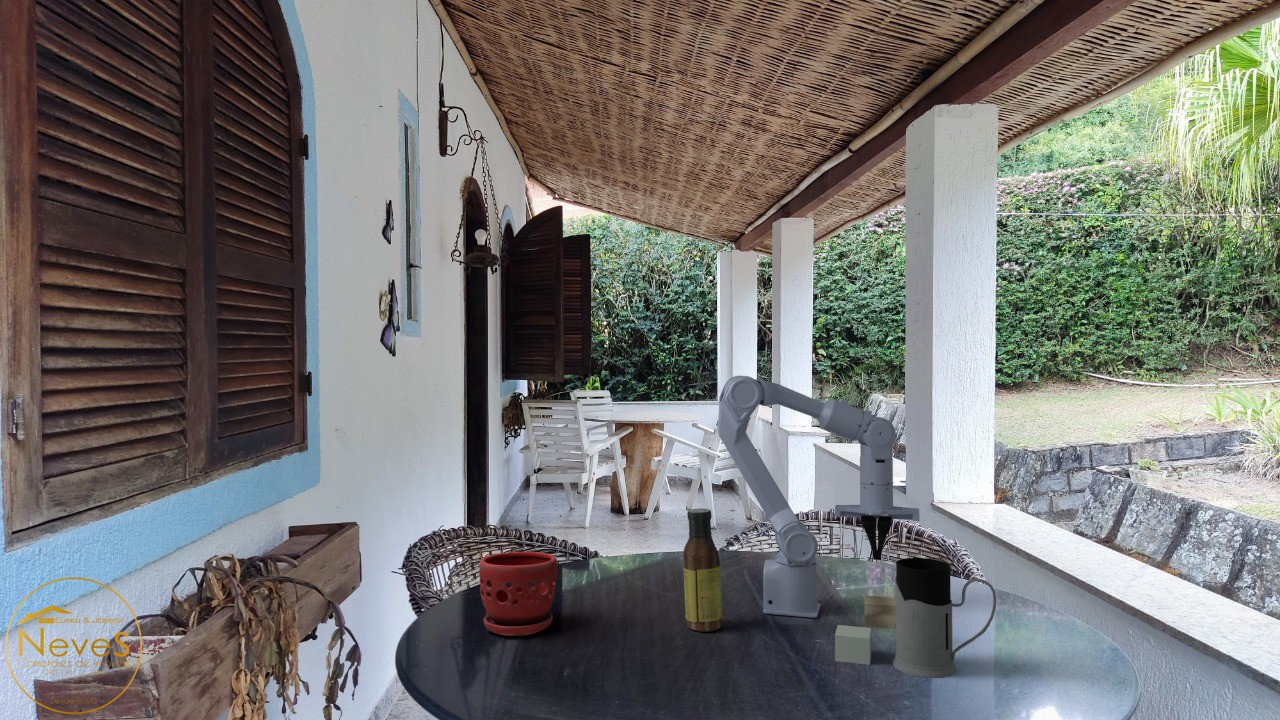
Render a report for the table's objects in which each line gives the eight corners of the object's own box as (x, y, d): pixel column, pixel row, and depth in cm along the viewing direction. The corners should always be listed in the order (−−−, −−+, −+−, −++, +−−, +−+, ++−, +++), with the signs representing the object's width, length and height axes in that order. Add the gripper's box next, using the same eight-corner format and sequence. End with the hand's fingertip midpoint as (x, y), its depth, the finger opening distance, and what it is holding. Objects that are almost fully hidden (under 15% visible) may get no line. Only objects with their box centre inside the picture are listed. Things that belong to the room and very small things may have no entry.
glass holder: (900, 652, 123) (899, 554, 123) (1000, 669, 116) (999, 565, 116) (886, 670, 116) (885, 566, 116) (993, 690, 109) (991, 579, 109)
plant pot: (570, 631, 134) (570, 560, 134) (495, 646, 127) (495, 570, 127) (538, 611, 145) (538, 545, 145) (468, 624, 138) (468, 554, 139)
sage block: (835, 662, 120) (834, 635, 120) (837, 650, 124) (837, 624, 125) (869, 665, 118) (869, 638, 118) (871, 654, 123) (871, 628, 123)
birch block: (864, 627, 136) (864, 603, 136) (864, 618, 140) (864, 595, 140) (895, 629, 134) (895, 605, 134) (894, 620, 139) (894, 597, 139)
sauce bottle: (727, 624, 137) (726, 508, 137) (715, 635, 131) (714, 514, 132) (691, 619, 140) (690, 505, 140) (678, 630, 134) (677, 511, 134)
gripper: (833, 484, 143) (834, 560, 143) (919, 487, 138) (920, 566, 138) (836, 479, 150) (837, 552, 149) (918, 482, 145) (919, 557, 145)
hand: (877, 558), depth 144 cm, fingers closed
